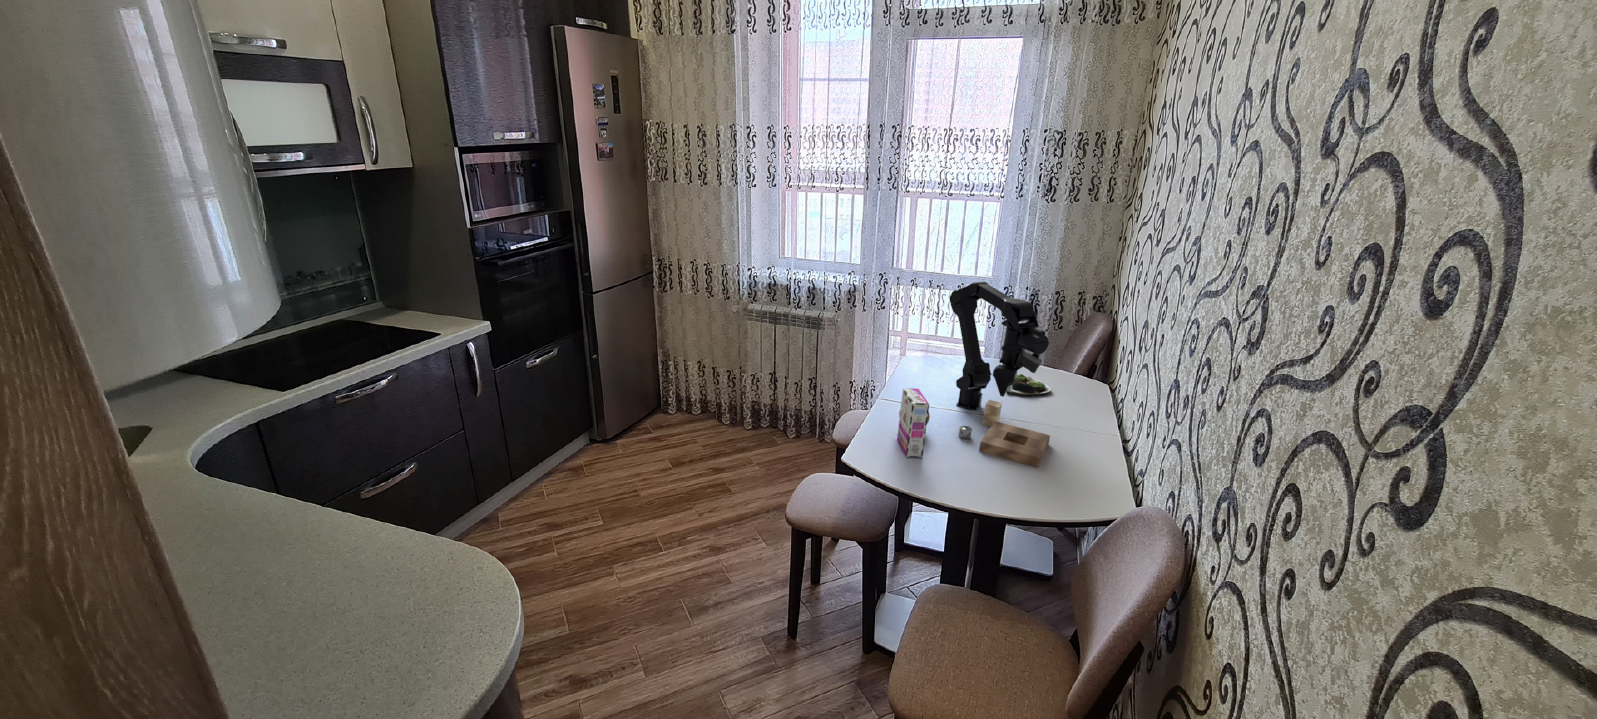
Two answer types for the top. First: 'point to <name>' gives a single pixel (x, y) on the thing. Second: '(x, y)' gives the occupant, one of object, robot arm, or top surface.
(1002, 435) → the hole block
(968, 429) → the grey metal cylinder
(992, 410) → the tan cardboard cuboid
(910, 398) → the candy bar box
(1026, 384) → the salad plate
